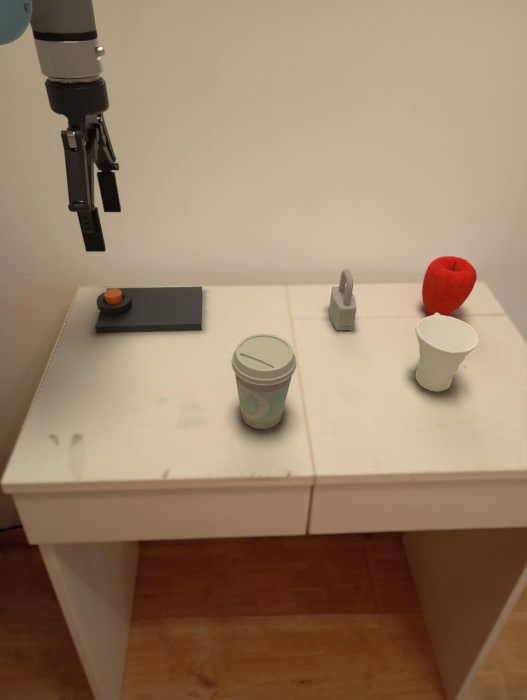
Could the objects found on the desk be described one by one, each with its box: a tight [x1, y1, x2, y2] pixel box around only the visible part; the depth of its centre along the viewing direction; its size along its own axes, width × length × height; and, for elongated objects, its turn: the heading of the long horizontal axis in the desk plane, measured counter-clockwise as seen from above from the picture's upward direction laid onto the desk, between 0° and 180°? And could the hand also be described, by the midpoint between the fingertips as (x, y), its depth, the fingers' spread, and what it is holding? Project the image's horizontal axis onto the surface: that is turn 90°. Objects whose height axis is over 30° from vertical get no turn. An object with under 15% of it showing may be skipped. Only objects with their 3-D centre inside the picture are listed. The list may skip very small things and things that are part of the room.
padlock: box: [328, 268, 357, 331], centre depth 83 cm, size 7×4×10 cm, turn 5°
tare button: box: [104, 289, 123, 304], centre depth 84 cm, size 3×3×2 cm
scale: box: [95, 286, 203, 334], centre depth 86 cm, size 18×12×3 cm, turn 95°
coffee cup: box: [231, 333, 297, 430], centre depth 64 cm, size 8×9×12 cm
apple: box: [421, 255, 478, 317], centre depth 86 cm, size 9×9×11 cm
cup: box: [415, 313, 480, 393], centre depth 72 cm, size 9×9×10 cm
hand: (105, 229), depth 74 cm, fingers open, 13 cm apart
